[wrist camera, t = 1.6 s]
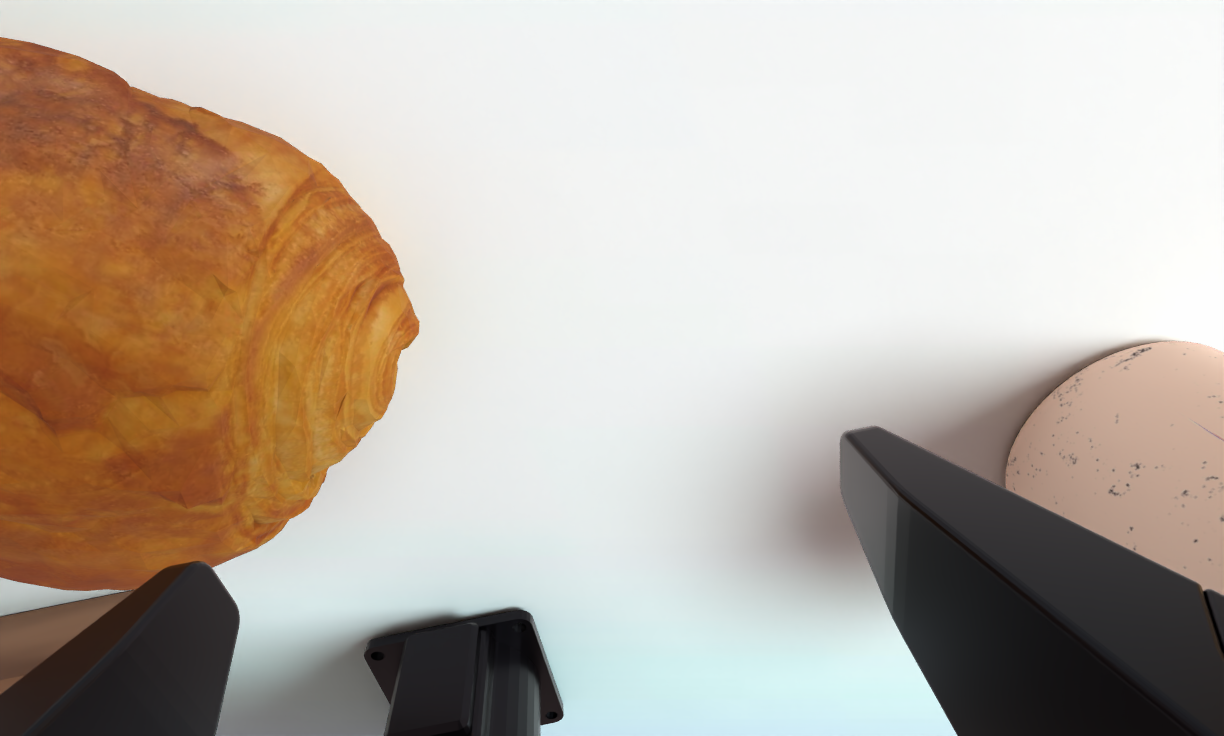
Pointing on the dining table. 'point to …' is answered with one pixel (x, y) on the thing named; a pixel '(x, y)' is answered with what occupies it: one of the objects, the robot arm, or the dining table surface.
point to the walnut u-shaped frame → (45, 633)
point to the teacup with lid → (1136, 455)
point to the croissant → (171, 328)
